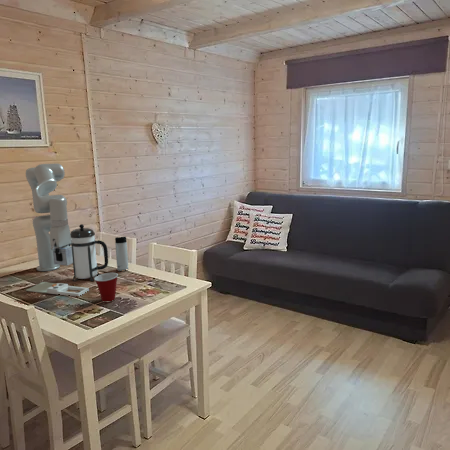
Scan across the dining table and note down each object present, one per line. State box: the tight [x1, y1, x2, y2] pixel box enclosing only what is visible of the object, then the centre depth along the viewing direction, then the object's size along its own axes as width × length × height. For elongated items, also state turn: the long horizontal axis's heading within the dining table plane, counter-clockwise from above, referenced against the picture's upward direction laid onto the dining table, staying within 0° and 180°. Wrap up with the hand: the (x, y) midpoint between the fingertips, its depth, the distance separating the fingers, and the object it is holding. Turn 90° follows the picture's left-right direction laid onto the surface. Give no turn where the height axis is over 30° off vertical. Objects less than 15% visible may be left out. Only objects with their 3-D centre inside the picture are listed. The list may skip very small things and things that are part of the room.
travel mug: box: [114, 236, 129, 272], centre depth 229 cm, size 6×7×20 cm
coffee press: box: [70, 223, 109, 282], centre depth 215 cm, size 17×16×30 cm
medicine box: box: [53, 245, 73, 266], centre depth 195 cm, size 8×4×9 cm, turn 72°
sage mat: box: [25, 281, 58, 294], centre depth 204 cm, size 12×12×1 cm
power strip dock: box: [46, 282, 90, 297], centre depth 197 cm, size 8×18×3 cm, turn 73°
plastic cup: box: [93, 272, 119, 302], centre depth 186 cm, size 11×11×12 cm
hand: (63, 259), depth 195 cm, fingers closed on medicine box, 4 cm apart
